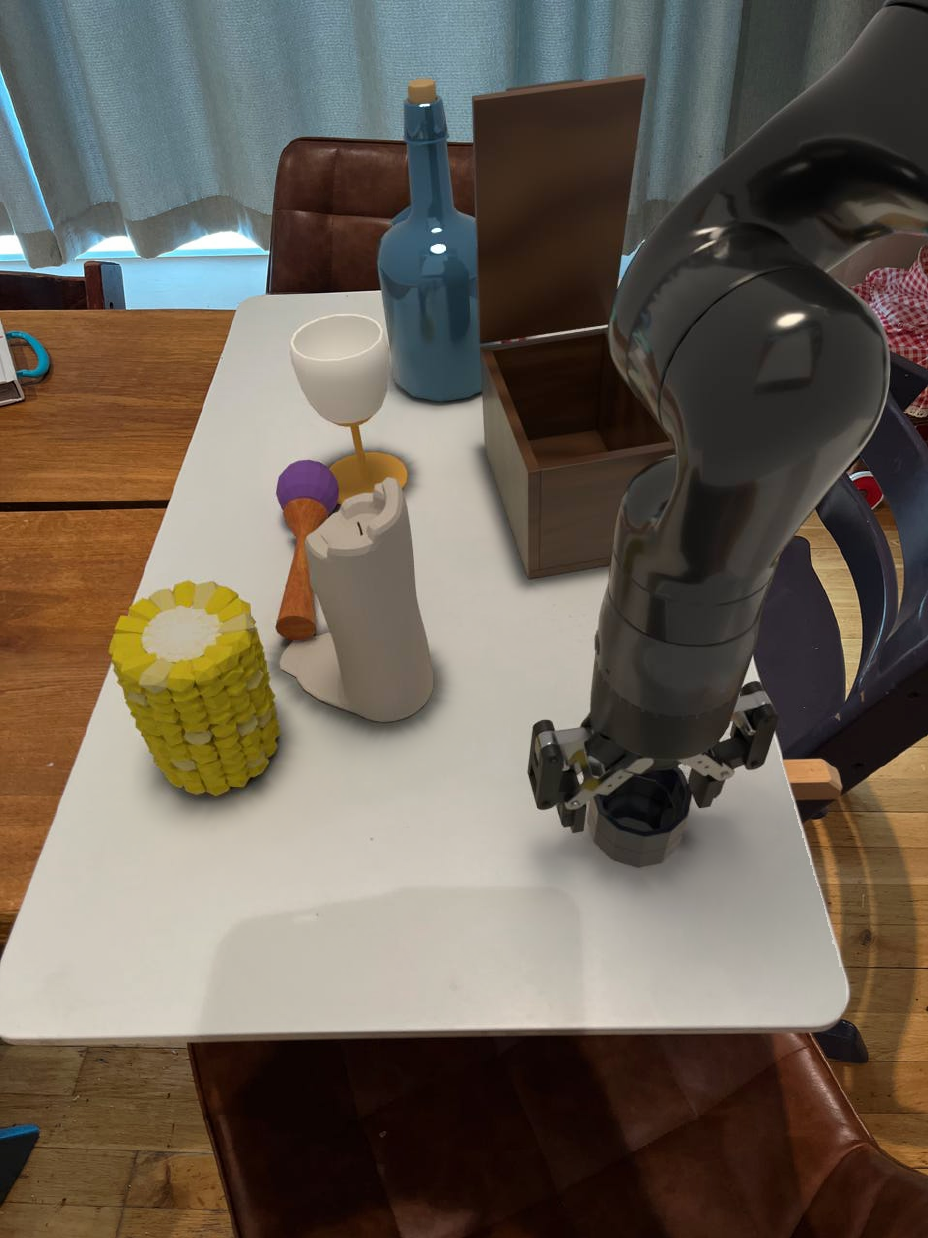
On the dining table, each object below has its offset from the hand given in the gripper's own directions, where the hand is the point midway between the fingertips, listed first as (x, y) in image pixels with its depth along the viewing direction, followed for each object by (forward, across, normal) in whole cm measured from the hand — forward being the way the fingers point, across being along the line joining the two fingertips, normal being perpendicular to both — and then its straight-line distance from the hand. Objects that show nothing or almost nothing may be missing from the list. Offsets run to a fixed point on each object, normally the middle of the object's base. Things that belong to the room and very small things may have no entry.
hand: (636, 807), depth 52 cm
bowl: (+3, 0, 0) cm, 3 cm away
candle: (+3, -18, +18) cm, 25 cm away
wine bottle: (+3, -3, +61) cm, 61 cm away
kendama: (+3, -21, +32) cm, 38 cm away
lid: (-20, +5, +43) cm, 48 cm away
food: (+3, -28, +13) cm, 31 cm away
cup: (+3, -14, +43) cm, 46 cm away
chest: (+3, +5, +35) cm, 36 cm away
